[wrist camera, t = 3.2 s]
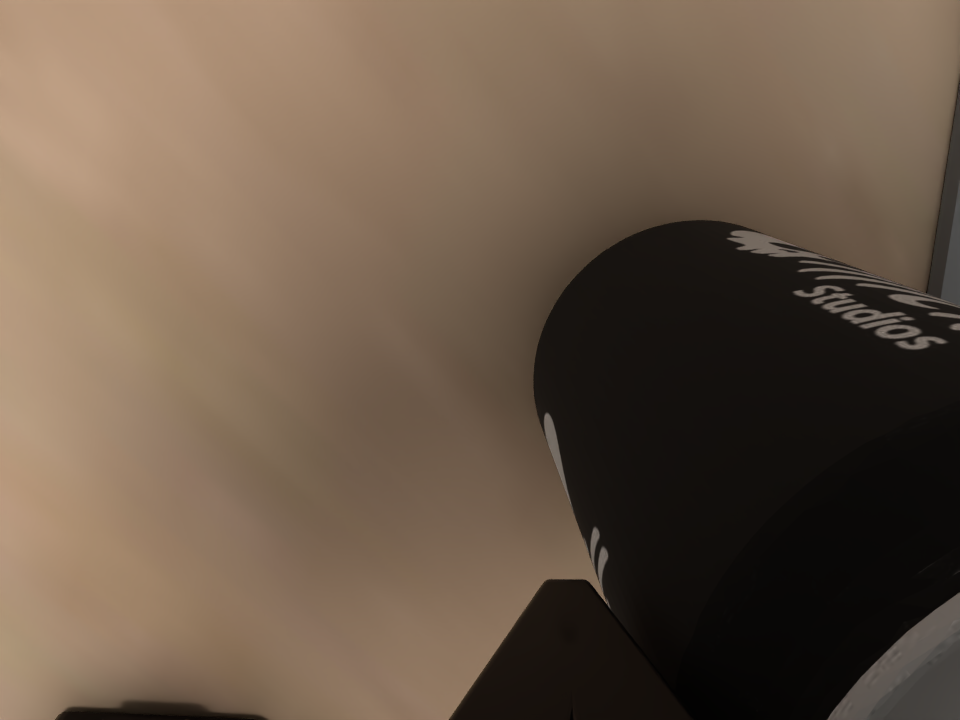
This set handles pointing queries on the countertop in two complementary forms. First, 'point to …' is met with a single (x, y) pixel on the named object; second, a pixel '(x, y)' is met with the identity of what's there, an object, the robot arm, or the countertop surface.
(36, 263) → the countertop surface
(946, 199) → the grey tray
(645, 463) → the beverage can
